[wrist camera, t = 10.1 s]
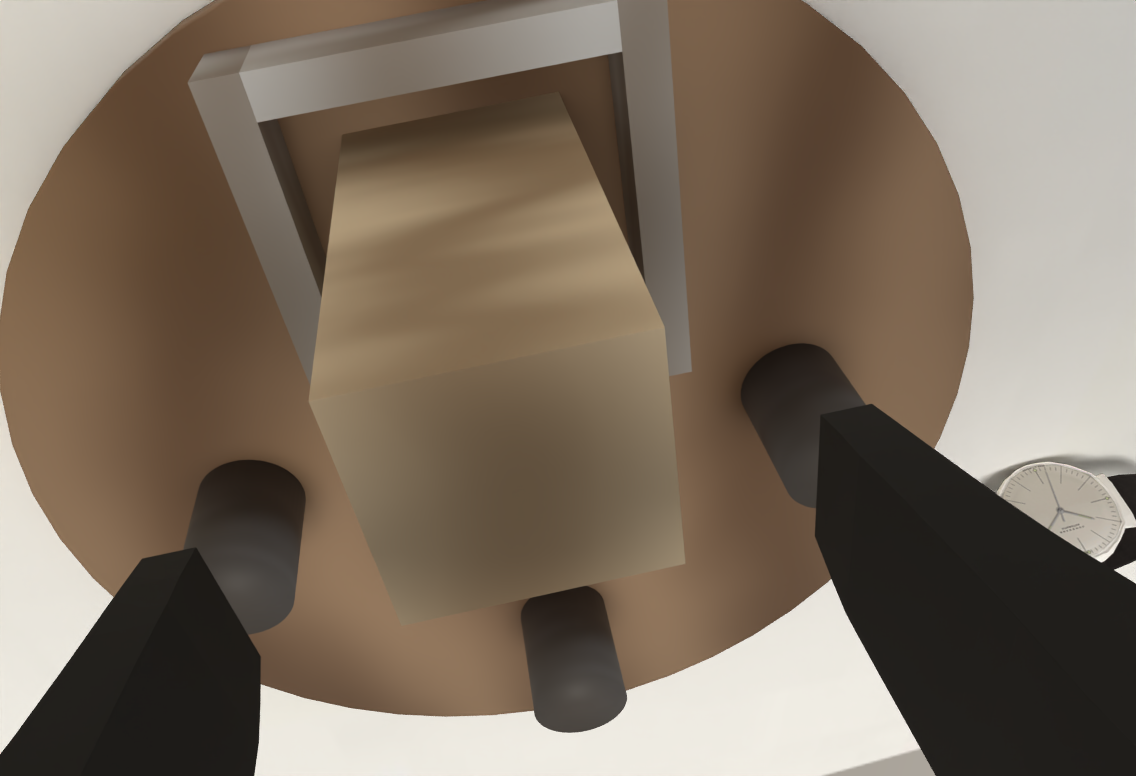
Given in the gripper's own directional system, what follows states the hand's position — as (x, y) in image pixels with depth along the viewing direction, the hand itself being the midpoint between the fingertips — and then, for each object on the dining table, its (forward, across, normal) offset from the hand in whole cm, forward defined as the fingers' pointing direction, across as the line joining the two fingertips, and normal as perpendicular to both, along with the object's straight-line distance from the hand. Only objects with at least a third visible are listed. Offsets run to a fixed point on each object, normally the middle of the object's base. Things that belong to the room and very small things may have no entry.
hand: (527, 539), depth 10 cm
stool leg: (+9, 0, 0) cm, 9 cm away
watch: (+10, -14, +14) cm, 23 cm away
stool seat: (+10, 0, +6) cm, 11 cm away
